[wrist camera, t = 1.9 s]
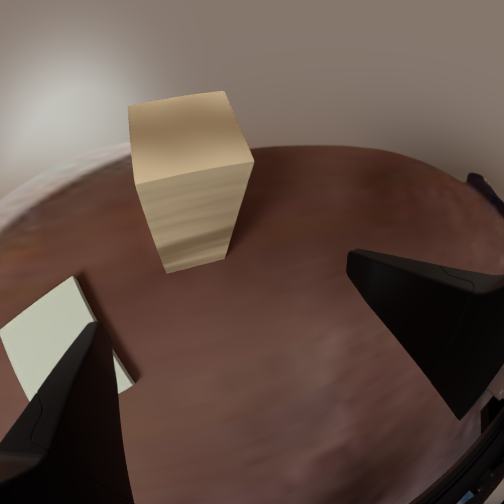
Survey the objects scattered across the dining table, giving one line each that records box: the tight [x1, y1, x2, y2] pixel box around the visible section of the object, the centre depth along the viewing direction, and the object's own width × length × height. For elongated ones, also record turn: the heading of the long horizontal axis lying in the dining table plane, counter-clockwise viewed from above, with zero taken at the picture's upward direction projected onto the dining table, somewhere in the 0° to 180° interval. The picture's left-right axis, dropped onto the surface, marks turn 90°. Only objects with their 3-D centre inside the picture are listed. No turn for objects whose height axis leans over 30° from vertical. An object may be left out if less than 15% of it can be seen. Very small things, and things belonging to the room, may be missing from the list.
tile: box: [0, 276, 135, 401], centre depth 17 cm, size 10×10×1 cm
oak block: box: [128, 91, 254, 273], centre depth 17 cm, size 5×5×13 cm
